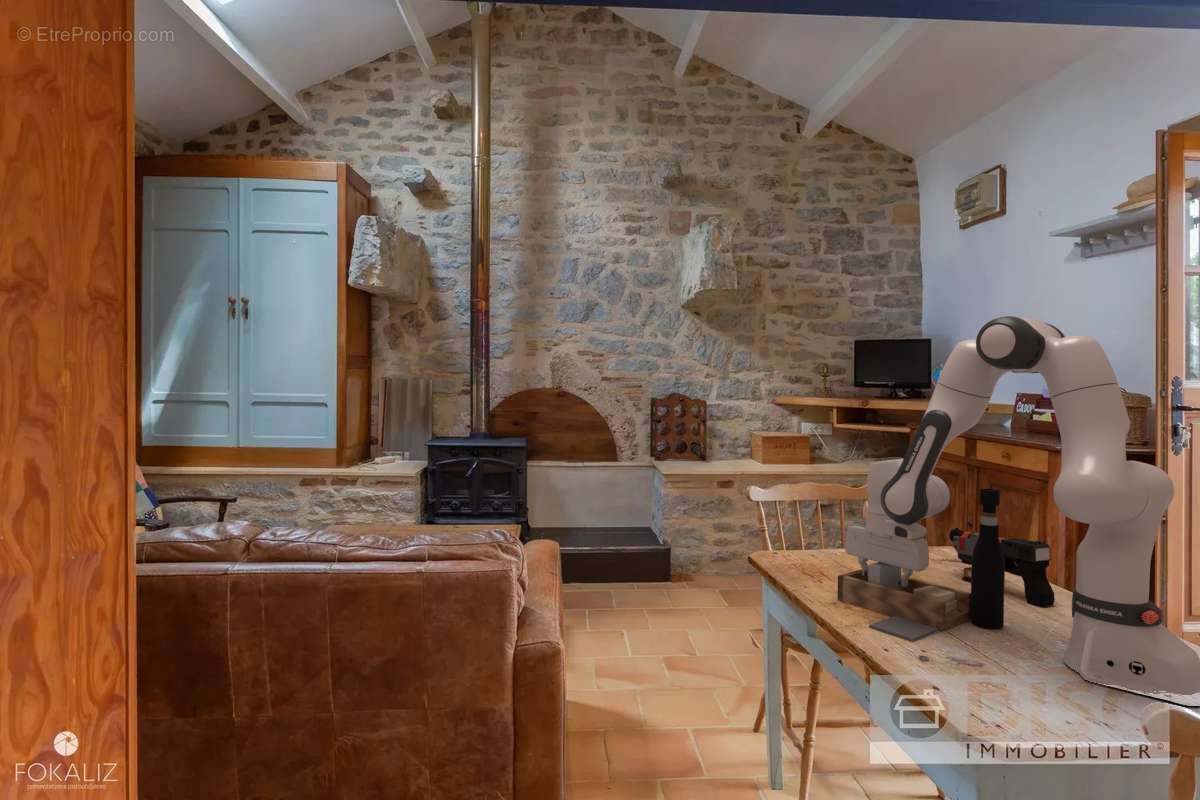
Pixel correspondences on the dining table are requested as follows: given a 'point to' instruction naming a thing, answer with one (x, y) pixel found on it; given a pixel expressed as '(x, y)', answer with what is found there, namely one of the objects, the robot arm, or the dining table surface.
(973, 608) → the wine bottle
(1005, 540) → the toy gun
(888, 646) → the dining table surface
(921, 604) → the wooden box
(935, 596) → the offcut top
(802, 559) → the dining table surface
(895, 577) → the gray rectangular block
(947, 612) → the block
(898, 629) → the flat gray square tile
